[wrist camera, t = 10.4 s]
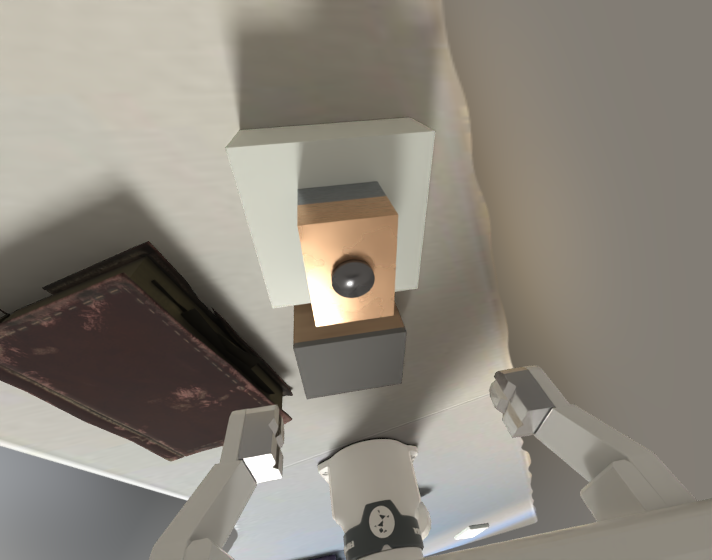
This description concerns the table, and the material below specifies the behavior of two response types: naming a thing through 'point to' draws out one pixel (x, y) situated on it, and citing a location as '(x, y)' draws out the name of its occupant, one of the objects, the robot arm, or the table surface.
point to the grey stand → (327, 168)
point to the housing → (348, 251)
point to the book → (326, 558)
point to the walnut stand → (348, 353)
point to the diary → (137, 356)
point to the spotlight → (423, 520)
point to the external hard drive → (471, 531)
